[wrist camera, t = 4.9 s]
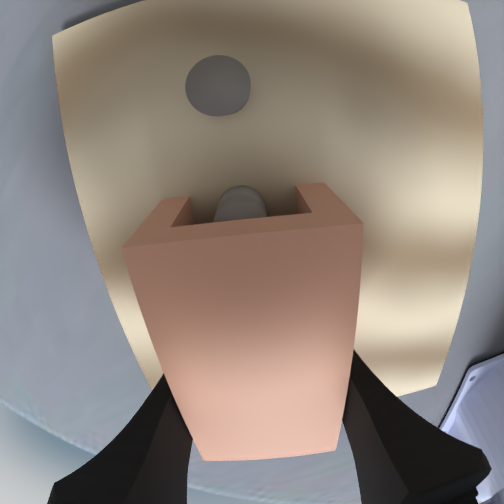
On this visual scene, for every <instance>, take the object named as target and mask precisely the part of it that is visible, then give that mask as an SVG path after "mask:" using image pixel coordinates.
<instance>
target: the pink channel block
mask: <svg viewBox="0 0 504 504" xmlns="http://www.w3.org/2000/svg"><path fill="white" fill-rule="evenodd" d="M296 202H297V214H293V215H283V216H272V217H262V218H251V219H242V220H232V221H223V222H213V223H204V224H196V225H194V220H193V214H192V208H191V202H190V196H186V197H179V198H172V199H165V200H161V201H160V203H159V204H158V205H157V206H156V207H155V208H154V209H153V211H152V212H151V213H150V214H149V215H148V216H147V218H146V219H145V220H144V221H143V222H142V224H141V225H140V226H139V227H138V228H137V230H136V231H135V232H134V233H133V234H132V236H131V237H130V238H129V239H128V240H127V242H126V243H125V244H124V245H123V247H122V251H123V255H124V258H125V262H126V265H127V269H128V272H129V276H130V279H131V282H132V285H133V289H134V292H135V295H136V298H137V301H138V304H139V307H140V310H141V313H142V316H143V319H144V322H145V325H146V328H147V330H148V333H149V336H150V339H151V341H152V344H153V347H154V349H155V352H156V355H157V357H158V360H159V362H160V365H161V367H162V370H163V372H164V375H165V377H166V380H167V382H168V385H169V387H170V389H171V392H172V394H173V396H174V399H175V401H176V403H177V406H178V408H179V410H180V412H181V414H182V417H183V419H184V421H185V423H186V425H187V427H188V430H189V432H190V434H191V436H192V438H193V440H194V442H195V444H196V446H197V448H198V450H199V452H200V454H201V456H202V458H203V460H204V461H235V460H257V459H271V458H282V457H292V456H301V455H308V454H316V453H322V452H329V451H335V450H336V447H337V442H338V437H339V433H340V428H341V423H342V417H343V412H344V407H345V401H346V396H347V390H348V383H349V377H350V371H351V364H352V357H353V349H354V341H355V333H356V325H357V315H358V305H359V294H360V282H361V268H362V251H363V228H364V223H363V222H362V221H361V220H360V219H359V218H358V217H357V216H356V215H355V214H354V213H353V212H352V211H351V209H350V208H349V207H348V206H347V205H346V204H345V203H344V202H343V201H342V200H341V199H340V198H339V197H338V196H337V195H336V194H335V193H334V192H333V191H332V190H331V189H330V188H329V187H328V186H327V185H326V184H325V183H314V184H301V185H296Z"/></svg>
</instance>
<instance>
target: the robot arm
mask: <svg viewBox="0 0 504 504" xmlns="http://www.w3.org/2000/svg"><path fill="white" fill-rule="evenodd" d="M342 421H343V424H344V427H345V430H346V433H347V436H348V439H349V442H350V446H351V449H352V452H353V456H354V460H355V465H356V470H357V476H358V482H359V488H360V494H361V501H362V504H478V502H477V500H478V501H482V503H481V504H504V354H501V355H499V356H496V357H494V358H491V359H489V360H486V361H484V362H481V363H479V364H476V365H473V366H472V367H470V368H469V370H468V371H467V373H466V376H465V378H464V380H463V382H462V385H461V387H460V389H459V391H458V393H457V395H456V397H455V399H454V401H453V403H452V405H451V407H450V409H449V411H448V413H447V415H446V417H445V419H444V421H443V423H442V424H441V426H440V428H437V427H436V426H434V425H432V424H431V423H429V422H428V421H426V420H425V419H424V418H422V417H421V416H419V415H418V414H417V413H415V412H414V411H413V410H412V409H410V408H409V407H408V406H407V405H405V404H404V403H403V402H402V401H401V400H400V399H399V398H398V397H397V396H395V395H394V394H393V393H392V392H391V391H390V390H389V389H388V388H387V387H386V386H385V385H384V384H383V383H382V382H381V380H380V379H379V378H378V377H377V376H376V375H375V374H374V373H373V372H372V371H371V370H370V368H369V367H368V366H367V365H366V364H365V362H364V361H363V360H362V359H361V357H360V356H359V355H358V354H357V352H356V351H355V350H354V349H353V357H352V364H351V371H350V377H349V383H348V390H347V396H346V401H345V407H344V412H343V417H342ZM192 440H193V438H192V436H191V434H190V432H189V430H188V427H187V425H186V423H185V421H184V419H183V417H182V414H181V412H180V410H179V408H178V406H177V403H176V401H175V399H174V396H173V394H172V392H171V389H170V387H169V385H168V382H167V380H166V377H165V375H164V373H163V375H162V376H161V378H160V379H159V381H158V383H157V384H156V386H155V387H154V389H153V390H152V392H151V393H150V395H149V396H148V397H147V399H146V400H145V402H144V403H143V405H142V406H141V407H140V409H139V410H138V411H137V413H136V414H135V415H134V416H133V418H132V419H131V420H130V422H129V423H128V424H127V425H126V426H125V427H124V429H123V430H122V431H121V432H120V433H119V434H118V435H117V436H116V437H115V438H114V439H113V440H112V441H111V442H110V443H109V444H108V445H107V446H106V447H105V448H104V449H103V450H102V451H101V452H99V453H98V454H97V455H96V456H95V457H94V458H92V459H91V460H90V461H88V462H87V463H86V464H85V465H83V466H82V467H80V468H79V469H77V470H76V471H74V472H73V473H71V474H69V475H68V476H66V477H64V478H63V479H61V480H59V481H57V482H55V483H54V485H53V488H52V490H51V493H50V497H49V500H48V503H47V504H187V473H188V464H189V458H190V452H191V446H192Z"/></svg>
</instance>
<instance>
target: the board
mask: <svg viewBox="0 0 504 504" xmlns="http://www.w3.org/2000/svg"><path fill="white" fill-rule="evenodd" d="M52 38H53V54H54V66H55V76H56V85H57V93H58V100H59V107H60V114H61V120H62V126H63V131H64V137H65V142H66V147H67V152H68V157H69V161H70V166H71V170H72V175H73V179H74V183H75V187H76V191H77V195H78V199H79V202H80V206H81V210H82V213H83V217H84V220H85V224H86V227H87V230H88V234H89V237H90V240H91V243H92V246H93V250H94V253H95V256H96V259H97V262H98V264H99V267H100V270H101V273H102V276H103V279H104V281H105V284H106V287H107V289H108V292H109V295H110V297H111V300H112V303H113V305H114V308H115V310H116V313H117V315H118V317H119V320H120V322H121V325H122V327H123V329H124V332H125V334H126V336H127V339H128V341H129V343H130V345H131V348H132V350H133V352H134V354H135V356H136V358H137V361H138V363H139V365H140V367H141V369H142V371H143V373H144V375H145V377H146V379H147V381H148V383H149V385H150V387H151V389H152V390H153V389H154V387H155V386H156V384H157V383H158V381H159V379H160V378H161V376H162V375H163V373H164V372H163V370H162V367H161V365H160V362H159V360H158V357H157V355H156V352H155V349H154V347H153V344H152V341H151V339H150V336H149V333H148V330H147V328H146V325H145V322H144V319H143V316H142V313H141V310H140V307H139V304H138V301H137V298H136V295H135V292H134V289H133V285H132V282H131V279H130V276H129V272H128V269H127V265H126V262H125V258H124V255H123V251H122V247H123V245H124V244H125V243H126V242H127V240H128V239H129V238H130V237H131V236H132V234H133V233H134V232H135V231H136V230H137V228H138V227H139V226H140V225H141V224H142V222H143V221H144V220H145V219H146V218H147V216H148V215H149V214H150V213H151V212H152V211H153V209H154V208H155V207H156V206H157V205H158V204H159V203H160V201H161V200H165V199H172V198H179V197H186V196H190V202H191V208H192V214H193V220H194V225H196V224H204V223H213V222H223V221H232V220H242V219H251V218H262V217H272V216H283V215H293V214H297V202H296V185H301V184H314V183H325V184H326V185H327V186H328V187H329V188H330V189H331V190H332V191H333V192H334V193H335V194H336V195H337V196H338V197H339V198H340V199H341V200H342V201H343V202H344V203H345V204H346V205H347V206H348V207H349V208H350V209H351V211H352V212H353V213H354V214H355V215H356V216H357V217H358V218H359V219H360V220H361V221H362V222H363V223H364V228H363V251H362V268H361V282H360V294H359V305H358V315H357V325H356V333H355V341H354V350H355V351H356V352H357V354H358V355H359V356H360V357H361V359H362V360H363V361H364V362H365V364H366V365H367V366H368V367H369V368H370V370H371V371H372V372H373V373H374V374H375V375H376V376H377V377H378V378H379V379H380V380H381V382H382V383H383V384H384V385H385V386H386V387H387V388H388V389H389V390H390V391H391V392H392V393H393V394H394V395H395V396H401V395H405V394H408V393H412V392H416V391H419V390H422V389H426V388H429V387H432V386H436V384H437V381H438V379H439V376H440V373H441V371H442V368H443V365H444V362H445V359H446V356H447V353H448V350H449V347H450V344H451V341H452V338H453V335H454V332H455V328H456V325H457V321H458V318H459V314H460V310H461V306H462V303H463V299H464V294H465V290H466V286H467V281H468V277H469V272H470V267H471V262H472V256H473V251H474V245H475V239H476V232H477V225H478V217H479V208H480V198H481V186H482V169H483V109H482V93H481V81H480V72H479V63H478V56H477V49H476V43H475V37H474V32H473V26H472V21H471V17H470V12H469V8H468V4H467V3H466V2H463V1H460V0H144V1H140V2H137V3H134V4H131V5H127V6H124V7H121V8H118V9H115V10H113V11H110V12H107V13H104V14H102V15H99V16H96V17H94V18H91V19H89V20H86V21H84V22H81V23H79V24H77V25H74V26H72V27H70V28H68V29H66V30H63V31H61V32H59V33H57V34H55V35H53V36H52Z"/></svg>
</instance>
